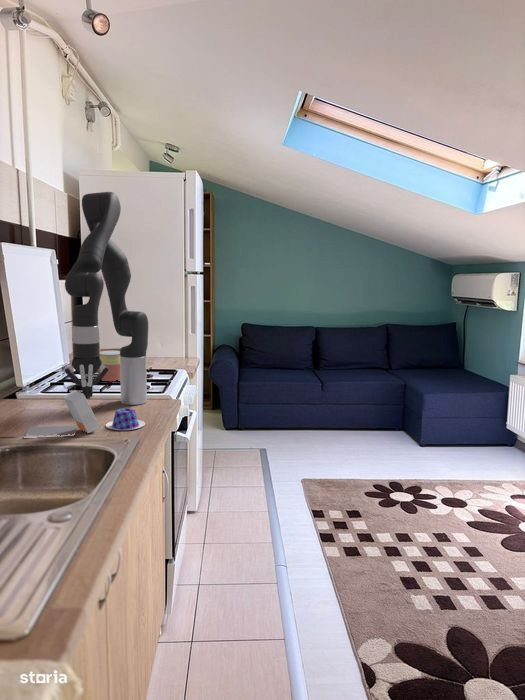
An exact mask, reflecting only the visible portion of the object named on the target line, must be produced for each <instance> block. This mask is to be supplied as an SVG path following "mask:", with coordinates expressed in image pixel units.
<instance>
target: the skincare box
mask: <svg viewBox="0 0 525 700" xmlns="http://www.w3.org/2000/svg"><path fill="white" fill-rule="evenodd" d="M62 398H63V400H64V402H65V404H66V406H67V407H68V411H69V412H70V414H71V416H72V418H73V420H74V421H75V425H77V426H78V428H77V429H79V430H81V431H82V430H83V431H82V432H84V431H85V432H84V433H86V432H87V433H86V434H88V433H90V432H91V433H92V432H94V431H95V430H97V429H98V428H100V427H101V425H100V423H99V422H98V420H97V418H96V416H95V414H94V411H93V409H92V408H91V406H90V404H89V401H88V399H86V397H85V395H84V394H83V393H82V391H78V390H76V389H75V390H72V391H71V392H69V393H67V394H66V395H64V396H63V397H62ZM91 433H90V434H91Z"/></svg>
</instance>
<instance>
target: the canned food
mask: <svg viewBox="0 0 525 700" xmlns="http://www.w3.org/2000/svg"><path fill="white" fill-rule="evenodd" d="M100 360H101V361H102V364H103V365H104V366H107V367H108V368H109V369H108V372H107V373H106V374H105V375H104V377H103V378H102V379H101V380H102V381H116V380H118V381H120V351H116V350H110V351H101V352H100ZM100 369H101V368H100V367H99V369H98V372H97V373H98V374H97V376H98V375H99V374H100V373H101V372H100Z"/></svg>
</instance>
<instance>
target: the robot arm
mask: <svg viewBox="0 0 525 700" xmlns="http://www.w3.org/2000/svg"><path fill="white" fill-rule="evenodd" d="M121 207H122V206H121V203H120V199H119V196H118V195H117V194H116V193H115V192H112V191H102V192H91V193H86V194H83V196H82V199H81V208H82V212H83V216H84V219H85V222H86V224H87V227H88V230H89V234H88V235H87V236H86V237H85V238H84V240H83V242H82V244H81V246H80V249H79V253H78V257H77V259H76V262H75V263H74V264H73V266H72V267H71V269H70V270H69V271H68V273H67V275H66V278H65V280H64V288H65V292H66V293H67V294H68V295H69V296H71V297H73V298H74V297H77V298H78V297H80V298H88V301H87V303H84V304H79V305H75V306H74V307H73V309H72V335H71V336H72V338H71V340H72V361H71V364H70V365H69V366H67V367H65V369H64V373H65V375H67V376H68V377H69V379H70V380H71V381H73V383H74V384H75V385H76V386H80V387H81V388H82V389H81V393H83V394H84V395H85V397H86V399H87V400H90V399H91V398H92V397H93V394H94V391H93V386H95V385H98V384H99V383H100V380H101V379H102V378H103V377H104V375H105V374H106V373H107V372H108V369H109V368H108V367H107V366H104V365H103V364H102V361H101V360H100V349H101V348H100V347H101V346H100V330H99V307H100V301H101V297H102V295H103V291H104V285H105V287H106V291H107V295H108V299H109V305H110V308H111V309H110V310H111V316H112V321H113V326H114V327H113V328H114V330H115V331H116V333H117V334H118V335H119V336H120V337H129V338H131V342H130V344H128V345H125V346H122V347H121V349H120V382H119V383H120V403H121V404H122V405H130V406H135V405H142V404H145V403H147V402H148V401H147V400H148V399H147V395H148V394H147V392H148V391H147V390H148V389H147V387H148V386H147V384H148V383H147V350H148V344H149V343H148V342H149V341H148V340H149V319H148V316H147V314H146V313H145V312H143V311H135V310H128V307H127V305H126V294H127V292H128V288H129V285H130V283H131V278H132V273H131V269H130V265H129V260H128V258H127V255H126V254H125V252H123V251H122V249H120V247H119V246H118V245H117V244H116V243H115V242H114V241H113V240H112V239H111V237H112V235H113V233H114V231H115V228H116V226H117V224H118V222H119V219H120V217H121V216H120V215H121V210H122V209H121ZM100 271H101V274H102V276H101V274H99V272H100ZM104 283H105V284H104ZM99 367H100V368H101V369H100V372H101V373H100V374H99V375H98V374H97V376H96V378H95V379H94V375H95V374H96V373H97V370H98V369H99ZM75 371H76V372H77V374H78V375H80V379H81V380H80V379H79V377H78V376H77V375H76V374H75V373H74V372H75Z"/></svg>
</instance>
